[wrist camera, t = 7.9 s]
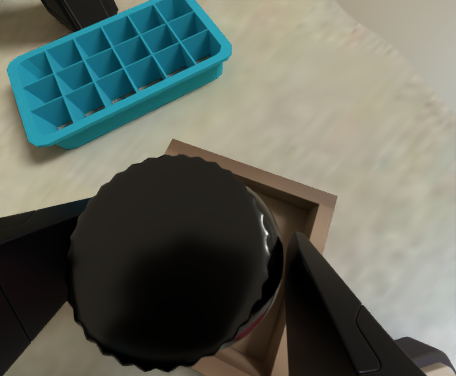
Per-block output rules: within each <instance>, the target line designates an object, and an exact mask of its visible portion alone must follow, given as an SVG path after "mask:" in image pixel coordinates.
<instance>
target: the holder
mask: <svg viewBox="0 0 456 376" xmlns="http://www.w3.org/2000/svg"><path fill="white" fill-rule="evenodd" d="M165 154H167V155H171V156H176V155H180V154H184V155H187V156H189V157H201V158H203V159H204V160H205V161H212V162H216V163H217V164H219V165H220V167H221V168H223V169H227V170H230V171H232V173H233V174H234V176H235V178H237V179H239V180H241V181H243V182H244V183H245V185H246V186H247V187H249V188H250V189H251V190H253V191H254V192H255V193H256V194H257V195H258V196H259V197H260V198H261V199H262V200H263V202H264V203H265V204H266V205H267V207H268V208H269V210H270V211H271V213H272V215H273V217H274V219H275V221H276V223H277V225H278V228H279V231H280V235H281V239H282V244H283V253H284V266H283V274H282V280H281V284H280V288H279V291H278V293H277V296H276V298H275V301H274V303H273V305H272V307H271V308H270V310H269V312H268V313H267V315H266V316H265V317H264V319H263V320H262V321H261V323H260V324H259V325H258V326H257V327H256V328H255V329H254V330H253V331H252V332H251V333H250V334H249V335H247V336H246V337H245V338H243V339H242V340H240V341H239V342H237V343H235V344H234V345H232V346H230V347H228V348H225V349H223V350H220V351H218V352H217V353H216V355H215V356H212V357H203V358H201V359H200V360H199V361H198V363H196V364H195V365H194V366H193V367H190V368H192V369H194V370H196V371H198V372H199V373H201V374H203V375H205V376H289V372H288V353H287V334H286V314H285V295H284V278H285V264H286V251H287V246H288V243H289V241H290V238H291V236H292V233H293V232H295V231H296V232H300V233H303V234H305V236H306V237H307V238H308V239H309V240H310V242H311V243H312V244H313V245H314V246H315V248H316V249H317V250H318V251H319V252H320V254H321V255H322V254H323V250H324V246H325V242H326V238H327V235H328V231H329V227H330V223H331V219H332V216H333V212H334V208H335V204H336V200H337V196H335V195H332V194H330V193H327V192H324V191H321V190H318V189H315V188H312V187H310V186H307V185H304V184H301V183H298V182H295V181H292V180H289V179H287V178H284V177H281V176H278V175H275V174H272V173H269V172H267V171H264V170H261V169H258V168H255V167H252V166H249V165H246V164H244V163H241V162H238V161H235V160H232V159H229V158H226V157H223V156H221V155H218V154H215V153H212V152H209V151H206V150H203V149H201V148H198V147H195V146H192V145H189V144H186V143H183V142H180V141H178V140H175V139H172V141H171V143H170V145H169V147H168V148H167V150H166V152H165ZM165 154H164V155H165Z"/></svg>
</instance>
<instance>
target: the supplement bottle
mask: <svg viewBox="0 0 456 376" xmlns="http://www.w3.org/2000/svg"><path fill="white" fill-rule="evenodd" d="M65 260H66V264H67V270H66V273H65V277H64V280H65V283H66V284H67V287H68V294H67V301H68V302H69V304H70V305H71V307H72V308H73V311H74V320H75V322H76V323H77V324H78V325H80V326H81V327H83V330H84V334H85V337H86V339H87V340H88V341H90V342H93V343H95V344H97V346H98V348H99V350H100V351H101V353H102V355H105V356H113V357H114V358H115V359H116V360H117V361H118V362H119V363H120V364H121V365H122V366H131V365H135V366H136V367H137V368H139V369H140V370H142V371H144V372H147V371H151V370H153V369H156V368H157V369H159V370H161V371H164V372H168V373H169V372H171V371H173V370H174V369H176V368H177V367H179V366H184V367H193V366H194V365H195V364H196V363H198V361H199V360H200V359H201V358H203V357H212V356H215V355H216V353H217V352H218V351H220V350H223V349H225V348H228V347H230V346H232V345H234V344H235V343H237V342H239V341H240V340H242V339H243V338H245V337H246V336H247V335H249V334H250V333H251V332H252V331H253V330H254V329H255V328H256V327H257V326H258V325H259V324H260V323H261V321H262V320H263V319H264V317H265V316H266V315H267V313H268V312H269V310H270V308H271V307H272V305H273V303H274V301H275V298H276V296H277V293H278V291H279V288H280V284H281V280H282V274H283V266H284V253H283V244H282V239H281V235H280V231H279V228H278V225H277V223H276V221H275V219H274V217H273V215H272V213H271V211H270V210H269V208H268V207H267V205H266V204H265V203H264V202H263V200H262V199H261V198H260V197H259V196H258V195H257V194H256V193H255V192H254V191H253V190H251V189H250V188H249V187H247V186H246V185H245V183H244V182H243V181H241V180H239V179H237V178H235V176H234V174H233V173H232V171H230V170H227V169H223V168H221V167H220V165H219V164H217V163H216V162H212V161H205V160H204V159H203V158H201V157H189V156H187V155H184V154H180V155H176V156H171V155H167V154H165V155H162V156H160V157H158V158H147V159H146V160H144V161H143V162H142V163H137V164H132V165H131V166H130V167H128V169H127V170H125V171H123V172H120V173H118V174H116V175H115V176H114V177H113V178H112V180H111V181H110V182H108V183H106V184H104V185H103V186H101V188H100V189H99V191H98V193H97V195H96V196H94V197H93V198H91V199H90V200H89V201H88V203H87V207H86V209H85V211H84V212H83V213H82V214H81V215H80V216H79V217H78V220H77V225H76V229H75V230H74V231H73V233H72V234H71V236H70V248H69V250H68V252H67V254H66V257H65Z"/></svg>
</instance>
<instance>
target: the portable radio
mask: <svg viewBox="0 0 456 376" xmlns="http://www.w3.org/2000/svg"><path fill="white" fill-rule="evenodd" d="M41 2H42V3H43V5H44V6H45V8H46V9H47V10H48V12H49V13H50V14H51V15H52V16H54V17H55V18H56V19H58V20H59V21H60V22H61V23H63V24H64V25H65V26H67V27H68V28H69V29H71V30H72V31H73V32H77V31H79V30H81V29H84V28H86V27H88V26H91V25H93V24H95V23H98V22H100V21H102V20H105V19H107V18H110V17H112V16H114V15H116V13H117V11H118V8H117V6H116V4H115V2H114V0H41Z"/></svg>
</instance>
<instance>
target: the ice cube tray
mask: <svg viewBox="0 0 456 376" xmlns="http://www.w3.org/2000/svg"><path fill="white" fill-rule="evenodd" d="M208 55H210V56H211V58H209V59H207V60H205V61H202V62H200V63H198V64H197V63H196V62H195V61H197V60H199V59H201V58H204V57H206V56H208ZM231 55H232V46H231V44H230V42H229V41H228V40H227V39H226V37H225V36H224V35H223V34H222V32H221V31H220V30H219V29H218V28H217V26H216V25H215V24H214V23H213V21H212V20H211V19H210V18H209V16H208V15H207V14H206V13H205V12H204V10H203V9H202V8H201V7H200V5H199V4H198V3H197V2H196V1H195V0H149V1H147V2H145V3H142V4H140V5H138V6H135V7H133V8H131V9H128V10H126V11H124V12H121V13H119V14H117V15H114V16H112V17H110V18H107V19H105V20H102V21H100V22H98V23H95V24H93V25H91V26H88V27H86V28H84V29H81V30H79V31H77V32H74V33H72V34H70V35H67V36H65V37H63V38H60V39H58V40H56V41H53V42H51V43H49V44H46V45H44V46H42V47H39V48H37V49H35V50H32V51H30V52H28V53H25V54H23V55H20V56H18V57H17V58H15V59H14V60H13V61H11V62H10V63H9V65H8V68H7V73H8V76H9V79H10V83H11V86H12V89H13V92H14V96H15V99H16V102H17V105H18V109H19V112H20V115H21V118H22V122H23V125H24V128H25V131H26V135H27V138H28V141H29V142H30V143H32V144H34V145H35V146H37V147H39V148H40V147H48V146H52V145H54V144H56V145H58V146H60V147H62V148H65V149H68V150H69V149H73V148H77V147H79V146H81V145H84V144H86V143H88V142H90V141H92V140H94V139H96V138H98V137H100V136H102V135H104V134H106V133H108V132H110V131H112V130H114V129H116V128H118V127H120V126H122V125H124V124H126V123H128V122H130V121H132V120H134V119H136V118H138V117H140V116H142V115H144V114H146V113H148V112H150V111H152V110H154V109H156V108H158V107H160V106H162V105H164V104H166V103H168V102H171V101H173V100H175V99H177V98H179V97H181V96H183V95H185V94H187V93H189V92H191V91H193V90H195V89H197V88H199V87H201V86H203V85H205V84H207V83H209V82H211V81H213V80H215V79H217V78H218V77H219V76H220V75H221V74H222V70H223V62H224V61H226V60H228V59H229V57H230V56H231ZM185 66H187V68H188V69H186V70H184V71H182V72H179V73H177V74H175V75H173V76H171V77H169V78H168V77H167V75H168V74H170V73H172V72H174V71H176V70H178V69H180V68H183V67H185ZM159 78H162V79H163V81H161V82H159V83H157V84H154V85H152V86H150V87H148V88H146V89H144V90H142V91H140V92H139V90H138V88H141V87H143V86H145V85H147V84H149V83H151V82H153V81H155V80H157V79H159ZM134 90H135V91H136V94H134V95H132V96H129V97H127V98H125V99H123V100H121V101H119V102H117V103H115V104H113V103H112V101H113V100H115V99H117V98H120V97H122V96H124V95H126V94H128V93H130V92H132V91H134ZM103 105H105V108H104V109H102V110H100V111H98V112H96V113H94V114H92V115H90V116H88V117H86V116H85V114H86V113H88V112H90V111H92V110H94V109H96V108H99V107H101V106H103ZM71 120H72V121H73V124H71V125H69V126H67V127H65V128H63V129H61V130H59V131H58V128H57V127H59V126H61V125H63V124H65V123H67V122H69V121H71Z"/></svg>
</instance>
